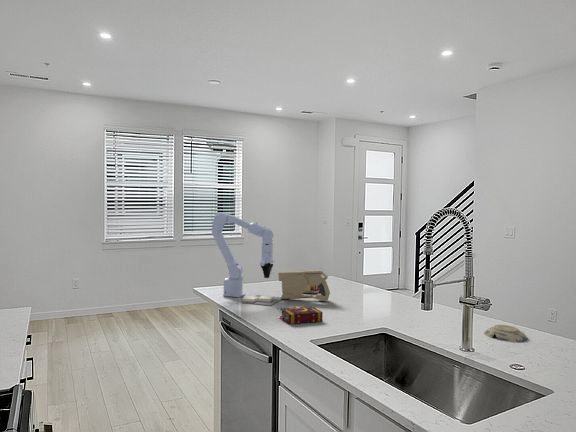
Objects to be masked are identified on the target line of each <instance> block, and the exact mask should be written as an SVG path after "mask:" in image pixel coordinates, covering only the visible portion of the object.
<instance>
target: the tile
mask: <svg viewBox="0 0 576 432" xmlns="http://www.w3.org/2000/svg"><path fill="white" fill-rule="evenodd" d="M273 297H274V296H271V295H263V296H261V297H259V298H258V302H271V301H272V300H273Z"/></svg>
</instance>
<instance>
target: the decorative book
mask: <svg viewBox="0 0 576 432" xmlns="http://www.w3.org/2000/svg"><path fill="white" fill-rule="evenodd" d="M279 310H280V312H281V315H280V316H279V320H283V321H285V322H286V323H287V324H289V325H294V324H295V325H301V324H305V323H306V324H307V323H311V324H315V323H317V322H323V311H322V310H320V309H318V308H317V307H315V306H313V305H306V306H305V305H304V306H297V305H296V306H294V307H280V308H279Z"/></svg>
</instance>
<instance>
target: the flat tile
mask: <svg viewBox="0 0 576 432" xmlns="http://www.w3.org/2000/svg"><path fill="white" fill-rule="evenodd" d="M258 298H259V297H254V296H252V295H246V296H244V297H242V300H241V302H252V303H254V302H256V301H258Z"/></svg>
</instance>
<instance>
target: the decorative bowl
mask: <svg viewBox="0 0 576 432" xmlns="http://www.w3.org/2000/svg"><path fill="white" fill-rule="evenodd" d="M483 334H484V335H485V336H486V337H488V338H489V339H493V338H494V336H495V337H496V341H501V342H507V343H523V342H526V341H529V340H528V339H529V338H528V336H527V335H526V334H525V333H524V332H523V331H521V330H519V329H518V328H517V327H515V326H512V325H506V324H495V325H494V326H492V327H490V328H488V329H486V330H485V332H484V333H483Z"/></svg>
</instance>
